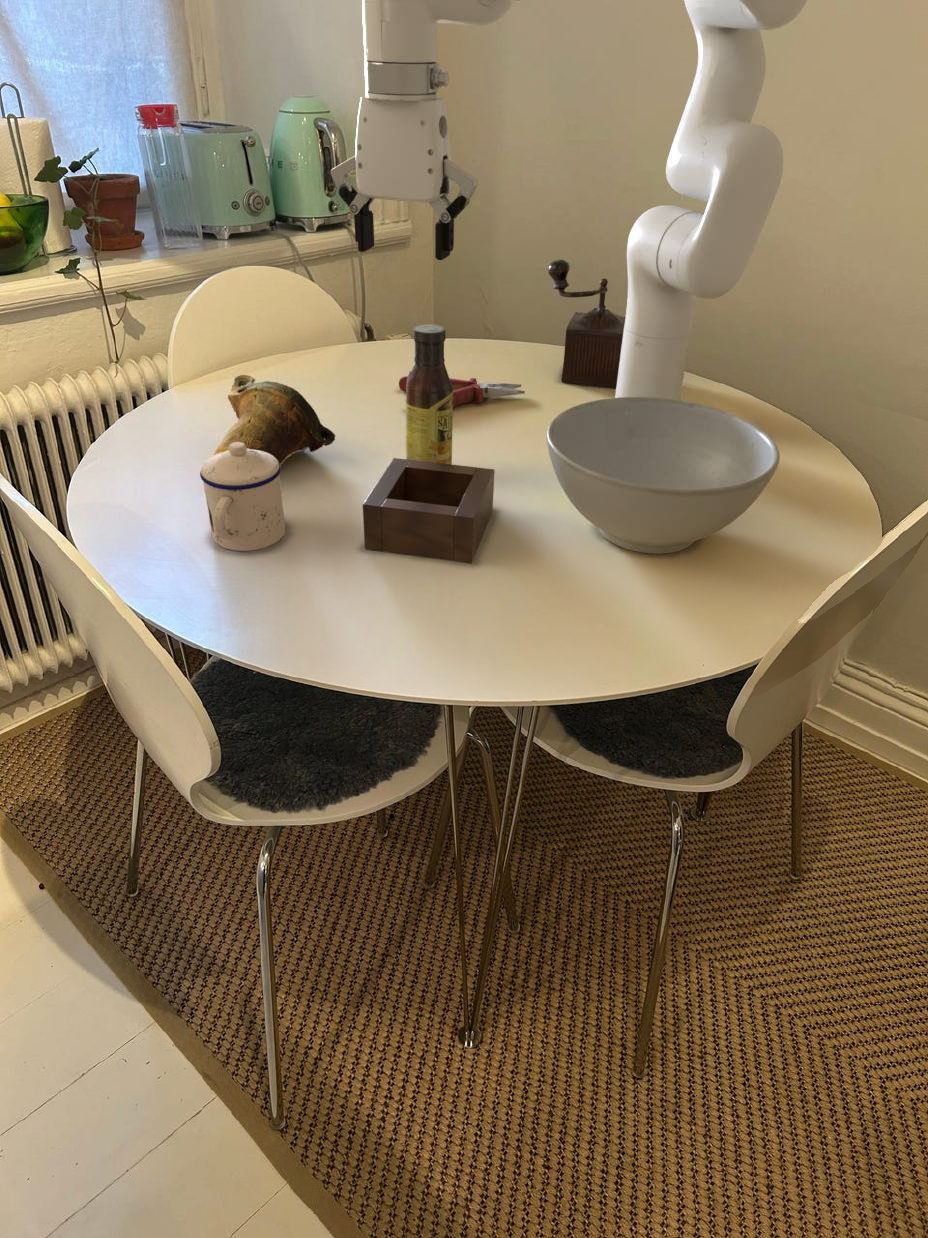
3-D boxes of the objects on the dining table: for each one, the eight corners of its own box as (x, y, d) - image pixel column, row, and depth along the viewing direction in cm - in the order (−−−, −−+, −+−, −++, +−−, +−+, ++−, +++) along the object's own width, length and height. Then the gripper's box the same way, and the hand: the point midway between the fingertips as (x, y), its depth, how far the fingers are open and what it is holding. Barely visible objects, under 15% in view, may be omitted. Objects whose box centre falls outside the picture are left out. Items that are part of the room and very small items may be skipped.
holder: (492, 512, 112) (494, 469, 108) (471, 563, 101) (473, 518, 98) (394, 500, 114) (393, 457, 110) (364, 549, 103) (362, 504, 100)
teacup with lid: (229, 512, 110) (216, 425, 103) (298, 520, 109) (289, 432, 102) (187, 561, 100) (169, 468, 94) (262, 570, 99) (249, 477, 92)
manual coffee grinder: (627, 368, 158) (641, 263, 147) (620, 389, 149) (634, 279, 138) (542, 359, 161) (550, 255, 150) (530, 379, 152) (538, 270, 141)
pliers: (530, 408, 141) (531, 393, 139) (406, 414, 137) (406, 398, 136) (514, 383, 150) (515, 368, 148) (398, 389, 147) (397, 373, 145)
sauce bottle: (446, 487, 117) (447, 339, 106) (401, 482, 118) (398, 334, 107) (456, 466, 122) (458, 323, 111) (413, 462, 123) (411, 319, 112)
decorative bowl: (772, 506, 115) (794, 419, 108) (736, 610, 95) (760, 511, 88) (577, 466, 124) (586, 383, 117) (507, 553, 103) (512, 459, 96)
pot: (160, 420, 111) (239, 339, 120) (169, 476, 120) (242, 397, 130) (277, 482, 109) (349, 395, 119) (277, 533, 119) (343, 449, 128)
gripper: (489, 83, 93) (484, 253, 103) (342, 76, 97) (350, 239, 107) (466, 88, 87) (463, 268, 97) (310, 80, 92) (322, 253, 101)
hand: (404, 253), depth 102 cm, fingers open, 9 cm apart
